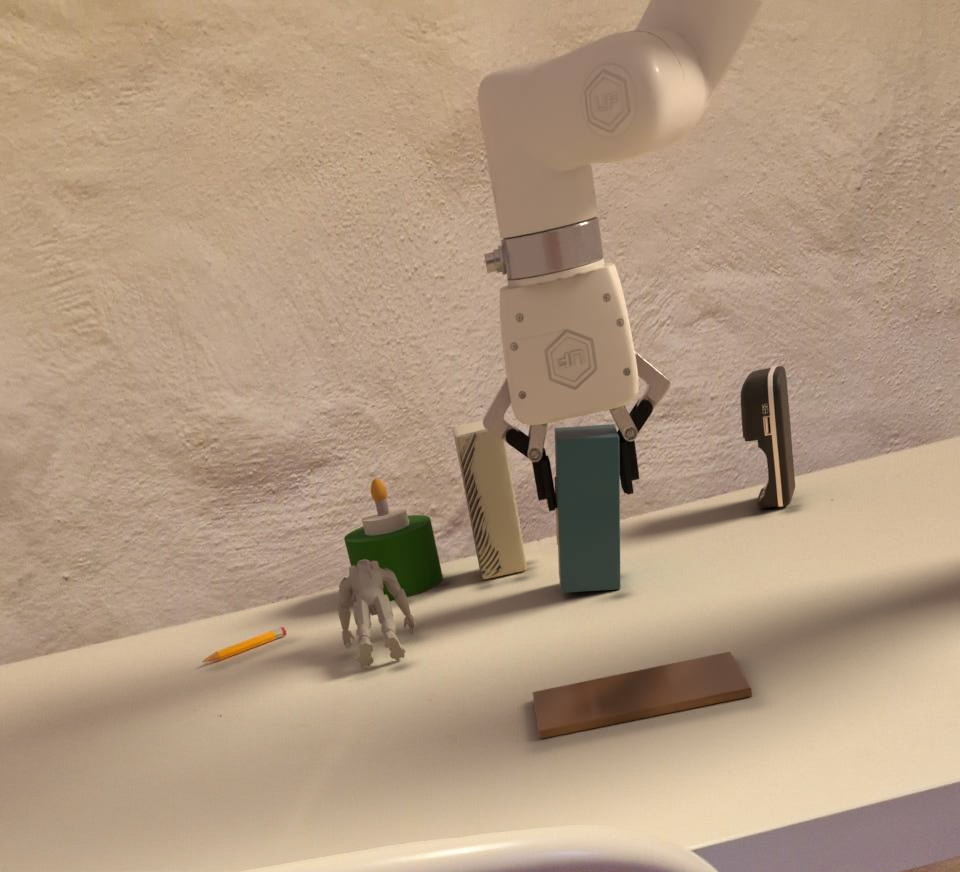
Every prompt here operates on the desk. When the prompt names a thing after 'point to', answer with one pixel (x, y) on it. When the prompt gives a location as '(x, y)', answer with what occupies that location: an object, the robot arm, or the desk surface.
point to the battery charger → (770, 431)
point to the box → (490, 500)
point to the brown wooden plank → (639, 694)
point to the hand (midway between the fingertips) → (589, 497)
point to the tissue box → (588, 507)
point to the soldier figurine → (372, 608)
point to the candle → (397, 544)
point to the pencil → (246, 645)
